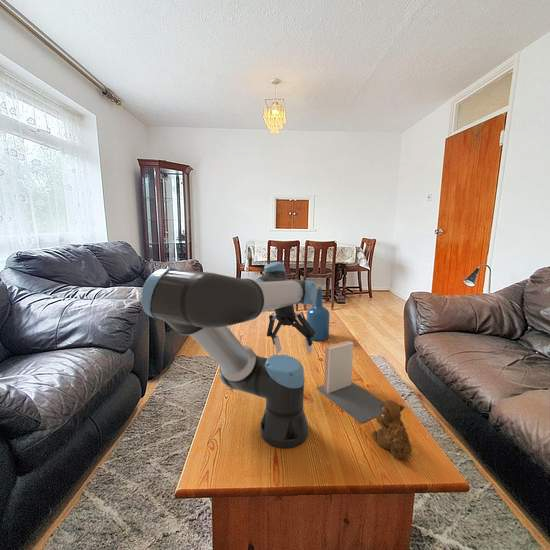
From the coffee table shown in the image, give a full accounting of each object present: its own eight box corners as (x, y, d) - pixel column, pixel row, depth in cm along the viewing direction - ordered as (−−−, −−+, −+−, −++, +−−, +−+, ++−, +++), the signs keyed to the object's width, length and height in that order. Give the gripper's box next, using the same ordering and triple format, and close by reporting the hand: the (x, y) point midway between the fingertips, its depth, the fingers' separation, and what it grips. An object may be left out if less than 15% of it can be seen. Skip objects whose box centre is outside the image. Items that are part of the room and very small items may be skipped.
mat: (315, 388, 115) (315, 387, 115) (345, 378, 123) (345, 377, 123) (360, 424, 95) (360, 423, 95) (393, 409, 103) (393, 408, 103)
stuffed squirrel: (400, 430, 92) (403, 392, 90) (422, 467, 78) (427, 423, 76) (368, 430, 92) (371, 392, 90) (385, 467, 78) (389, 423, 76)
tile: (323, 389, 114) (325, 346, 111) (346, 381, 120) (348, 340, 117) (328, 393, 112) (329, 349, 109) (351, 384, 118) (353, 342, 114)
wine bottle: (331, 341, 162) (333, 288, 157) (308, 341, 161) (309, 289, 156) (326, 332, 175) (327, 283, 170) (304, 332, 175) (305, 283, 169)
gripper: (316, 296, 108) (327, 348, 112) (259, 300, 120) (271, 346, 125) (309, 304, 101) (321, 358, 106) (250, 307, 114) (263, 355, 118)
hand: (294, 352), depth 115 cm, fingers open, 13 cm apart
